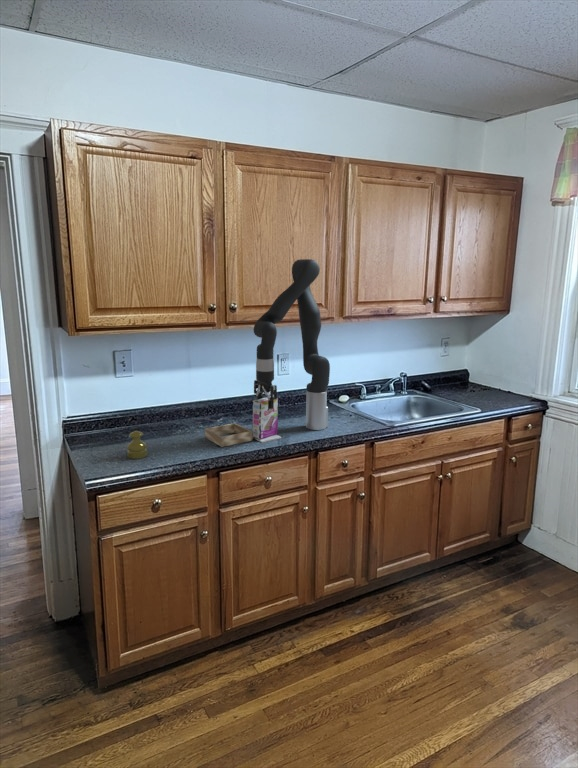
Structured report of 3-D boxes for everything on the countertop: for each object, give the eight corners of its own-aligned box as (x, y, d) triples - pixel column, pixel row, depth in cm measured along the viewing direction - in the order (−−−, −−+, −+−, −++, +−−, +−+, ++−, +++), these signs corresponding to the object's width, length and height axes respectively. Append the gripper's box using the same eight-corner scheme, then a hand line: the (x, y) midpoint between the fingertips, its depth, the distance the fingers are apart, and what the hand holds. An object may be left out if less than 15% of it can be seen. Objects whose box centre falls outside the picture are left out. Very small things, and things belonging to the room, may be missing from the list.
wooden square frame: (235, 431, 234) (234, 423, 233) (252, 440, 223) (252, 431, 222) (205, 437, 226) (205, 428, 225) (221, 446, 214) (221, 437, 213)
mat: (268, 432, 234) (268, 431, 233) (281, 438, 226) (281, 437, 225) (249, 436, 228) (249, 435, 228) (261, 442, 220) (261, 441, 220)
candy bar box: (260, 440, 221) (260, 402, 217) (252, 437, 224) (251, 400, 221) (278, 434, 229) (278, 397, 226) (270, 431, 232) (270, 395, 229)
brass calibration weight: (149, 452, 207) (147, 428, 205) (144, 459, 200) (143, 434, 198) (130, 452, 207) (128, 428, 205) (125, 459, 200) (123, 434, 198)
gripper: (282, 370, 217) (282, 409, 220) (263, 365, 228) (263, 401, 231) (266, 372, 212) (267, 411, 216) (248, 367, 224) (248, 404, 227)
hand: (265, 406), depth 224 cm, fingers open, 8 cm apart
